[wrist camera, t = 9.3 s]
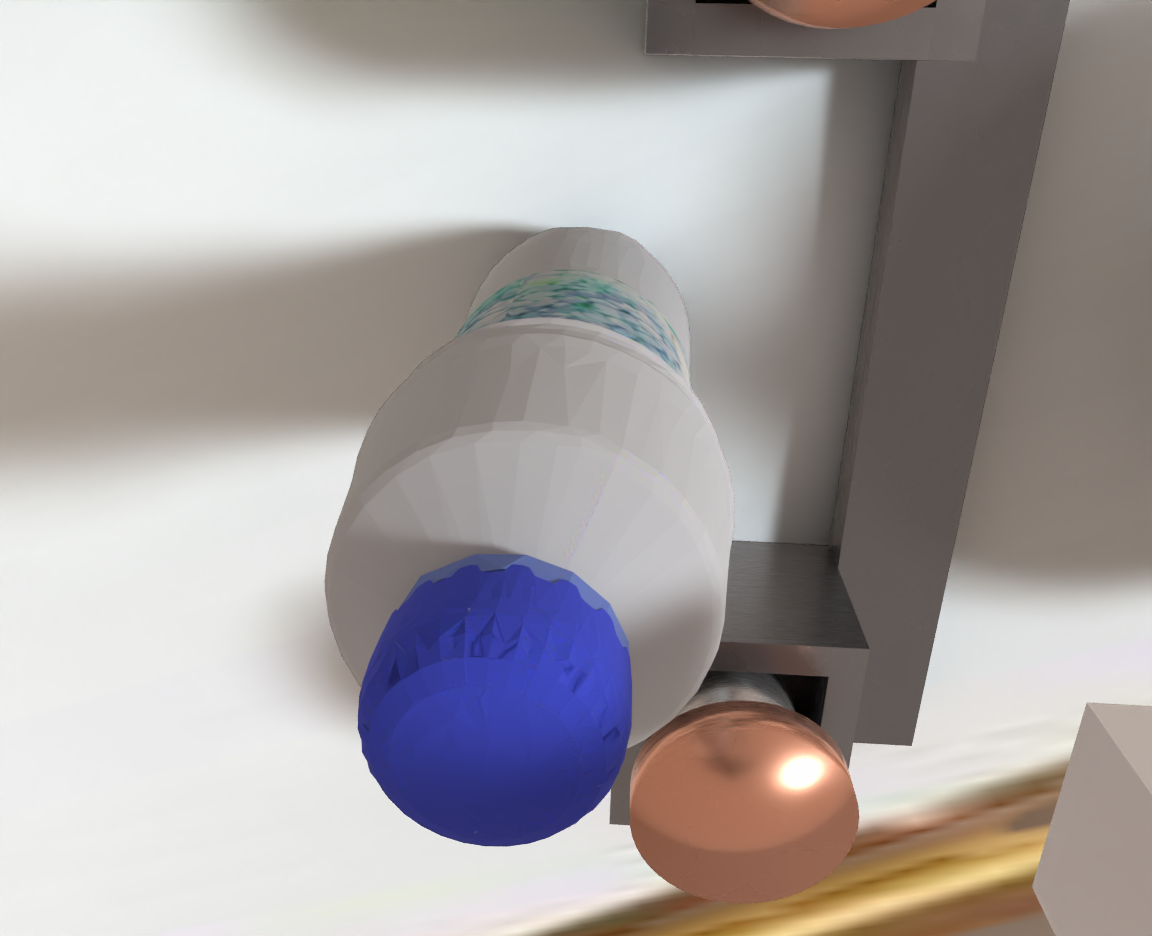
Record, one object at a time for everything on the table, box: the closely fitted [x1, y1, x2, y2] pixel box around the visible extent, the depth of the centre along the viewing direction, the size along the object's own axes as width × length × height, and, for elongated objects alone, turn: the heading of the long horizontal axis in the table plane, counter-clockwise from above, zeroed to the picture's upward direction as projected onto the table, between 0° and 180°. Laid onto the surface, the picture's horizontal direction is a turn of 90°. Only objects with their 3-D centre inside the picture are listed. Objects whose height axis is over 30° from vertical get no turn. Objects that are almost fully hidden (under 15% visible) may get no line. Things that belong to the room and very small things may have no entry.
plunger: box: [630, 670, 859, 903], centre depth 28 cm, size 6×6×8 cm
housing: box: [610, 0, 1070, 825], centre depth 26 cm, size 29×10×6 cm, turn 179°
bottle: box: [325, 227, 735, 846], centre depth 20 cm, size 7×7×20 cm
